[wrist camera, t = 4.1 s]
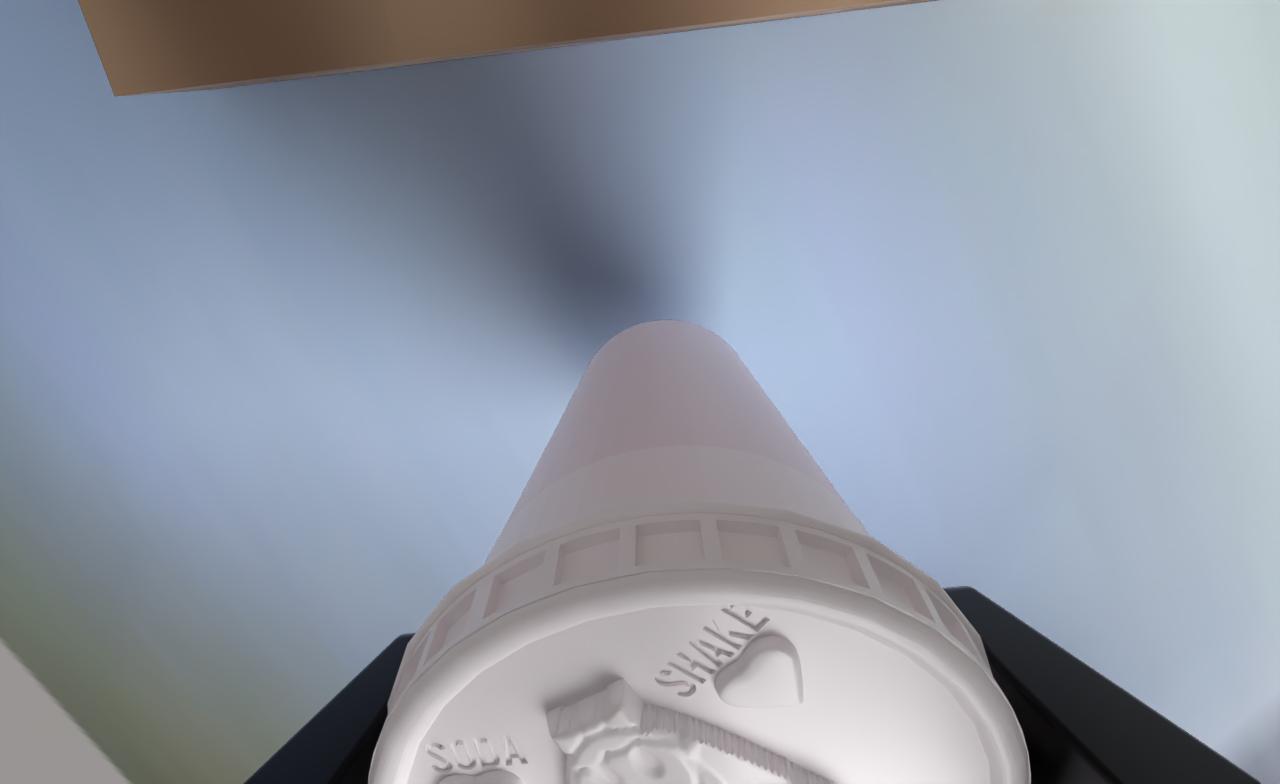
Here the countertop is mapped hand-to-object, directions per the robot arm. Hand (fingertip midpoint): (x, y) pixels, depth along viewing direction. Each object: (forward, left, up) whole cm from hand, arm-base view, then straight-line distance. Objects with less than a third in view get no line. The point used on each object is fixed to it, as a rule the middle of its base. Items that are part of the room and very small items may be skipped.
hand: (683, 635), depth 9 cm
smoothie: (0, 0, -7) cm, 7 cm away
